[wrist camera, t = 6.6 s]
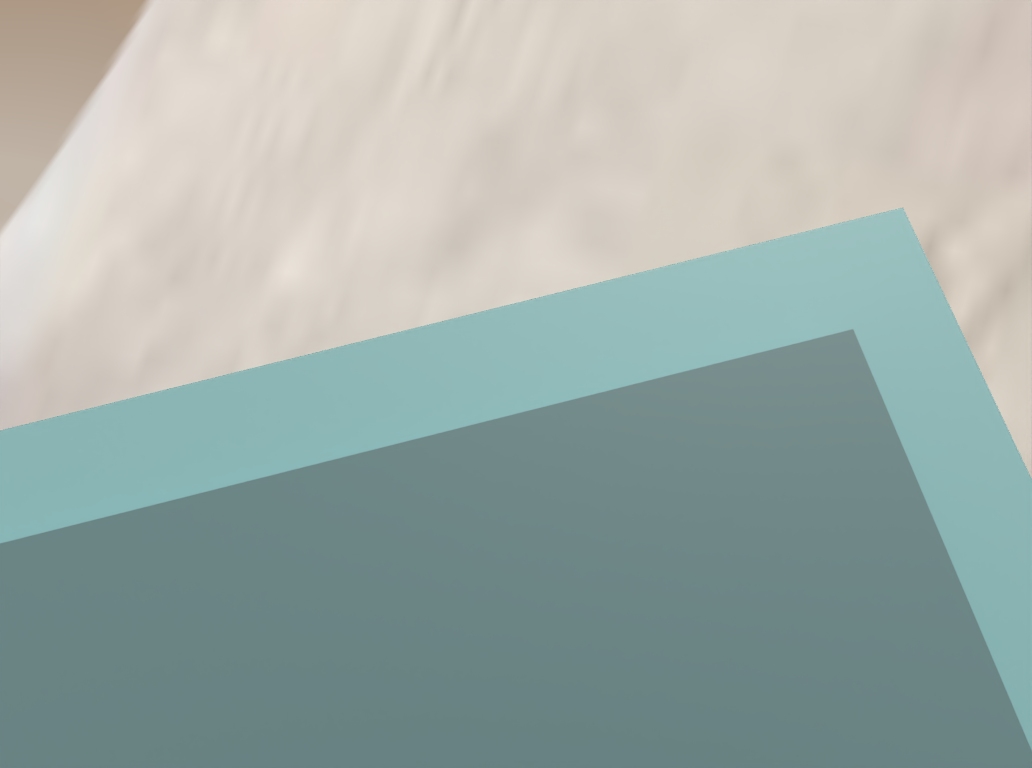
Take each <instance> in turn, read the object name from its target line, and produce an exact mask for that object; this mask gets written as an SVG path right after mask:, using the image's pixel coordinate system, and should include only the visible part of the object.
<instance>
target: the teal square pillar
mask: <svg viewBox="0 0 1032 768" xmlns="http://www.w3.org/2000/svg"><path fill="white" fill-rule="evenodd" d="M0 768H1032V479H1031V477H1030V475H1029V472H1028V470H1027V468H1026V466H1025V464H1024V462H1023V460H1022V458H1021V456H1020V453H1019V451H1018V449H1017V447H1016V445H1015V443H1014V441H1013V439H1012V437H1011V434H1010V432H1009V430H1008V428H1007V426H1006V424H1005V422H1004V420H1003V418H1002V416H1001V413H1000V411H999V409H998V407H997V405H996V403H995V401H994V399H993V397H992V394H991V392H990V390H989V388H988V386H987V384H986V382H985V380H984V378H983V375H982V373H981V371H980V369H979V367H978V365H977V363H976V361H975V359H974V356H973V354H972V352H971V350H970V348H969V346H968V344H967V342H966V340H965V337H964V335H963V333H962V331H961V329H960V327H959V325H958V323H957V321H956V318H955V316H954V314H953V312H952V310H951V308H950V306H949V304H948V302H947V300H946V297H945V295H944V293H943V291H942V289H941V287H940V285H939V283H938V281H937V278H936V276H935V274H934V272H933V270H932V268H931V266H930V264H929V262H928V259H927V257H926V255H925V253H924V251H923V249H922V247H921V245H920V243H919V240H918V238H917V236H916V234H915V232H914V230H913V228H912V226H911V224H910V221H909V219H908V217H907V215H906V213H905V211H904V209H903V208H899V209H895V210H891V211H887V212H883V213H879V214H875V215H871V216H867V217H863V218H859V219H855V220H851V221H847V222H842V223H838V224H834V225H830V226H826V227H822V228H818V229H814V230H810V231H806V232H802V233H798V234H794V235H790V236H786V237H782V238H778V239H774V240H770V241H766V242H762V243H757V244H753V245H749V246H745V247H741V248H737V249H733V250H729V251H725V252H721V253H717V254H713V255H709V256H705V257H701V258H697V259H693V260H689V261H685V262H681V263H677V264H672V265H668V266H664V267H660V268H656V269H652V270H648V271H644V272H640V273H636V274H632V275H628V276H624V277H620V278H616V279H612V280H608V281H604V282H600V283H596V284H592V285H587V286H583V287H579V288H575V289H571V290H567V291H563V292H559V293H555V294H551V295H547V296H543V297H539V298H535V299H531V300H527V301H523V302H519V303H515V304H511V305H507V306H502V307H498V308H494V309H490V310H486V311H482V312H478V313H474V314H470V315H466V316H462V317H458V318H454V319H450V320H446V321H442V322H438V323H434V324H430V325H426V326H422V327H417V328H413V329H409V330H405V331H401V332H397V333H393V334H389V335H385V336H381V337H377V338H373V339H369V340H365V341H361V342H357V343H353V344H349V345H345V346H341V347H337V348H332V349H328V350H324V351H320V352H316V353H312V354H308V355H304V356H300V357H296V358H292V359H288V360H284V361H280V362H276V363H272V364H268V365H264V366H260V367H256V368H252V369H247V370H243V371H239V372H235V373H231V374H227V375H223V376H219V377H215V378H211V379H207V380H203V381H199V382H195V383H191V384H187V385H183V386H179V387H175V388H171V389H167V390H162V391H158V392H154V393H150V394H146V395H142V396H138V397H134V398H130V399H126V400H122V401H118V402H114V403H110V404H106V405H102V406H98V407H94V408H90V409H86V410H82V411H77V412H73V413H69V414H65V415H61V416H57V417H53V418H49V419H45V420H41V421H37V422H33V423H29V424H25V425H21V426H17V427H13V428H9V429H5V430H1V431H0Z"/></svg>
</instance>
